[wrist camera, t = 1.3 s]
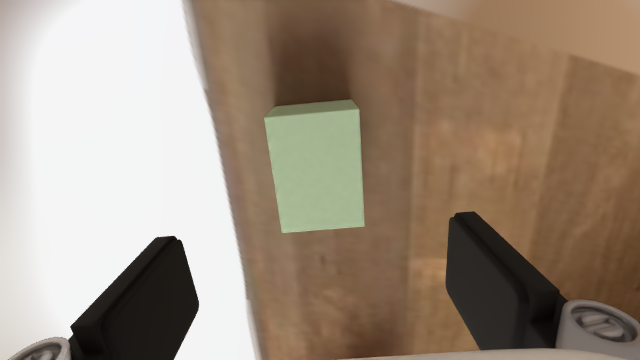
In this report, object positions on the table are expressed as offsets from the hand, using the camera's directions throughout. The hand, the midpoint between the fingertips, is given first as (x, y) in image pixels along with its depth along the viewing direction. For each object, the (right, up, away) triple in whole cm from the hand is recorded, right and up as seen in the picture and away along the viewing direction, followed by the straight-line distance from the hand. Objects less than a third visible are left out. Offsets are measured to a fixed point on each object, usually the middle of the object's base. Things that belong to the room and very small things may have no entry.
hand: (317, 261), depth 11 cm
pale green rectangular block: (0, +5, +10) cm, 11 cm away
